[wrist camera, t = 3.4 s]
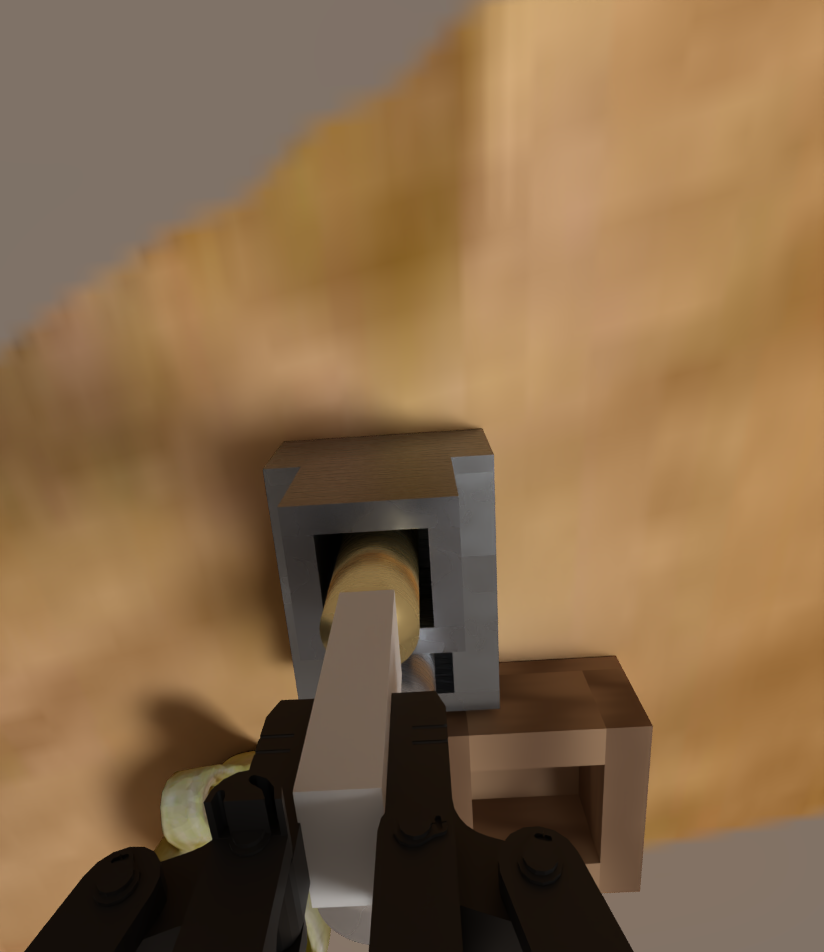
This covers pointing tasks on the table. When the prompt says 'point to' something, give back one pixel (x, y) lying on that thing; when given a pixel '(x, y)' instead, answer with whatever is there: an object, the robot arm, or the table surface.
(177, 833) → the mug
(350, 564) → the yellow capsule
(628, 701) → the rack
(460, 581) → the block
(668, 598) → the table surface
